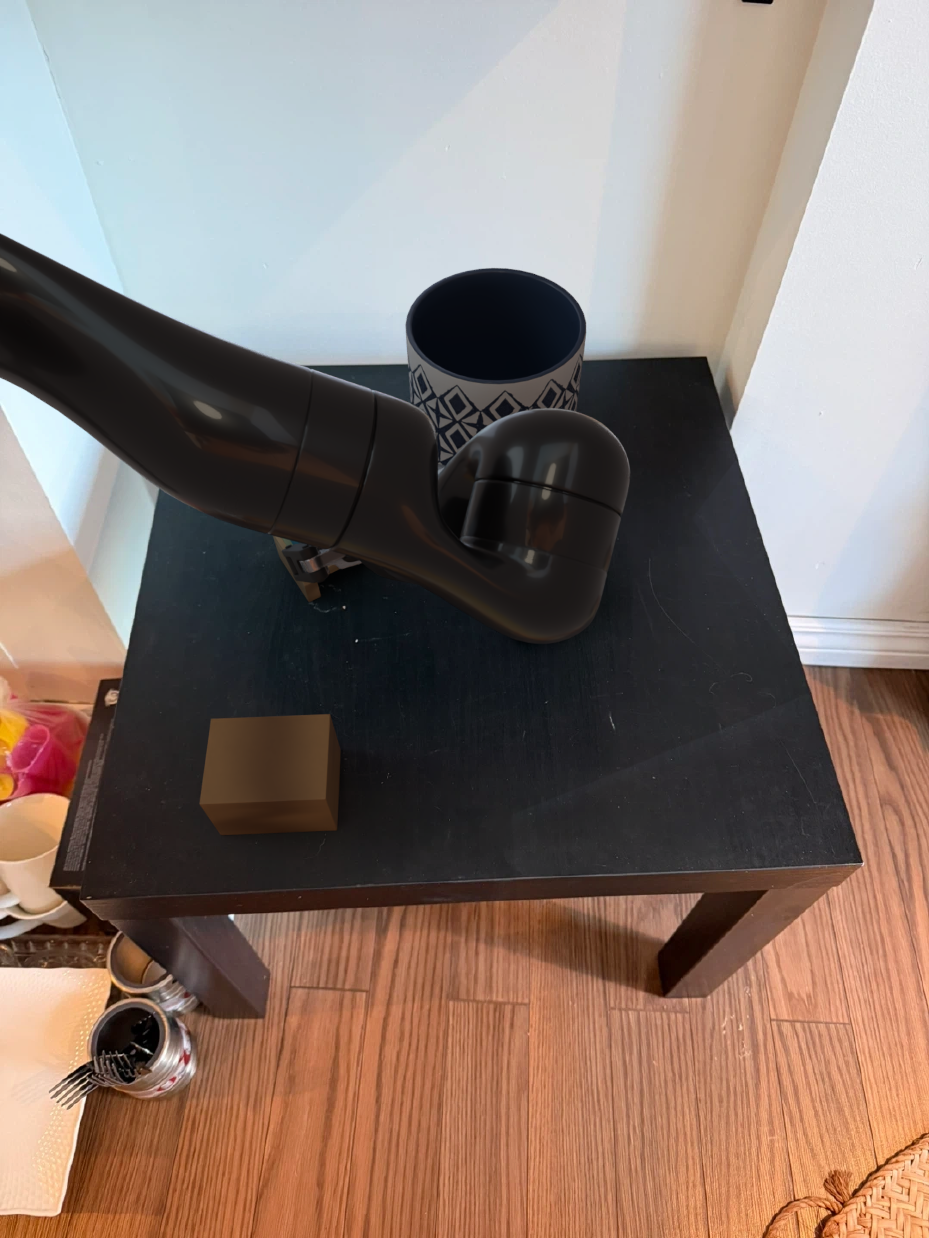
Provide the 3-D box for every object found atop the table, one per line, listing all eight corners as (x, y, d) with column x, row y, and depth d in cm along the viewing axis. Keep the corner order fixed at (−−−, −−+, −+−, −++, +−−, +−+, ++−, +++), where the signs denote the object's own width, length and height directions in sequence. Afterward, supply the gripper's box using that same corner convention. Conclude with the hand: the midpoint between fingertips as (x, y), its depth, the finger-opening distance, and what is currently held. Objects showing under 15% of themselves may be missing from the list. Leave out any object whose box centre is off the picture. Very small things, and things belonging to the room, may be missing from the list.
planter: (601, 428, 102) (620, 308, 88) (514, 526, 94) (521, 410, 80) (474, 368, 108) (474, 247, 94) (382, 455, 100) (367, 336, 86)
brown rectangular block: (220, 835, 75) (199, 804, 69) (230, 754, 79) (210, 718, 73) (337, 830, 75) (325, 799, 69) (340, 749, 79) (330, 713, 73)
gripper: (494, 427, 57) (414, 447, 72) (296, 517, 52) (255, 519, 67) (536, 533, 59) (449, 531, 74) (348, 628, 54) (297, 605, 69)
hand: (356, 525), depth 70 cm, fingers open, 8 cm apart
